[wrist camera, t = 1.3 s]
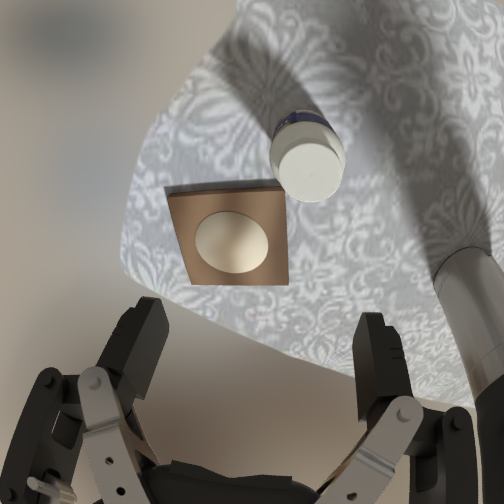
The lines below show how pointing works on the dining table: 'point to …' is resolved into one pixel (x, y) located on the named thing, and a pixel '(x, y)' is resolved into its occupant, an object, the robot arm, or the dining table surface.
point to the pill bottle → (307, 156)
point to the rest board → (233, 235)
